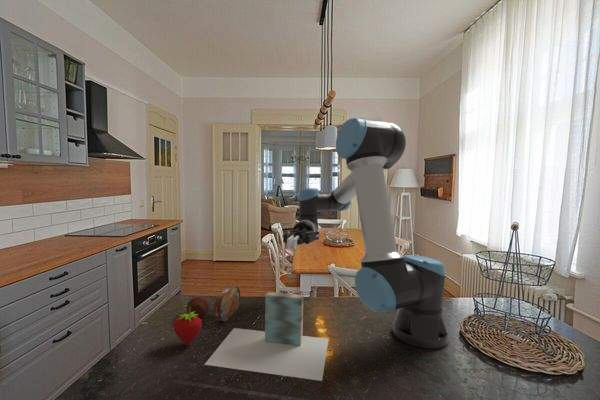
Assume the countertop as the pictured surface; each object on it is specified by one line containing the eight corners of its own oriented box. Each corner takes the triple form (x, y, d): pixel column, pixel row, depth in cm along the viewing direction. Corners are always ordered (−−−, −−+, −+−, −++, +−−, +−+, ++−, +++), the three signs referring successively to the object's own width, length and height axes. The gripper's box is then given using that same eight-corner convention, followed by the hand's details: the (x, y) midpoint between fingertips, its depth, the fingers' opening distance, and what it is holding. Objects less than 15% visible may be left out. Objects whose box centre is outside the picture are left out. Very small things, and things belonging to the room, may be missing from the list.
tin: (221, 326, 91) (221, 299, 90) (211, 325, 92) (212, 298, 91) (241, 306, 106) (241, 282, 105) (232, 305, 106) (232, 281, 106)
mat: (328, 340, 84) (328, 338, 84) (321, 383, 66) (322, 380, 66) (234, 329, 89) (234, 328, 89) (204, 366, 71) (204, 364, 71)
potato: (183, 323, 92) (183, 303, 92) (189, 310, 101) (188, 291, 101) (206, 322, 93) (206, 302, 93) (210, 309, 102) (210, 291, 102)
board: (302, 341, 82) (303, 295, 81) (300, 346, 80) (301, 298, 79) (267, 337, 84) (267, 291, 83) (264, 341, 81) (265, 295, 81)
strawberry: (179, 337, 84) (179, 302, 83) (205, 339, 83) (205, 304, 82) (168, 349, 78) (168, 312, 77) (196, 351, 77) (196, 314, 77)
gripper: (322, 242, 110) (314, 258, 87) (285, 240, 112) (267, 255, 89) (323, 221, 109) (315, 232, 86) (285, 220, 112) (268, 230, 89)
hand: (291, 244), depth 88 cm, fingers closed
